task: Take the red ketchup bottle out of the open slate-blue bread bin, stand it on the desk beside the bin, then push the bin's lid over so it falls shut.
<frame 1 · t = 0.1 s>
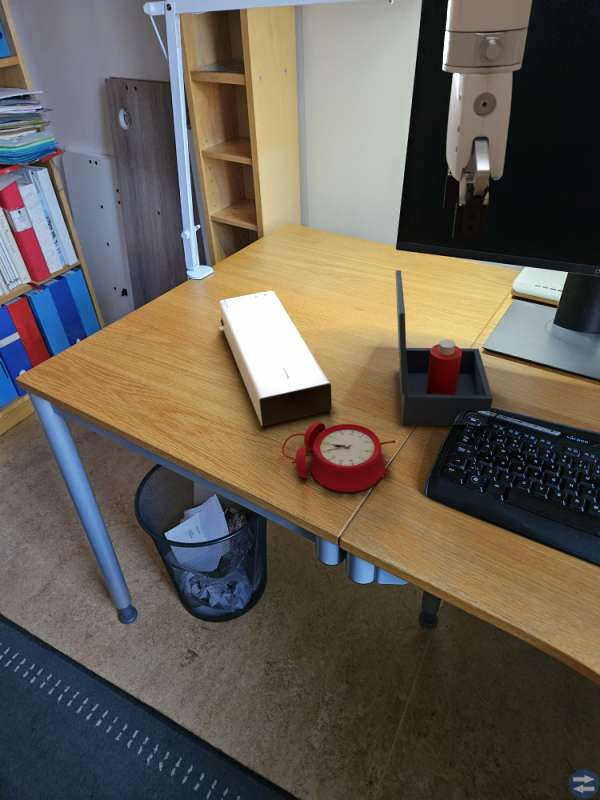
hand: (461, 224, 65), 31 cm above the table, tool pointing down, fingers open, 9 cm apart
bin lid: (401, 331, 83), point 12 cm above the table, hinge at 95.0°
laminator: (267, 367, 100), on the table
ketchup bottle: (440, 394, 89), point 1 cm above the table, touching bread bin
alarm clock: (335, 465, 79), on the table
bread bin: (440, 398, 90), on the table
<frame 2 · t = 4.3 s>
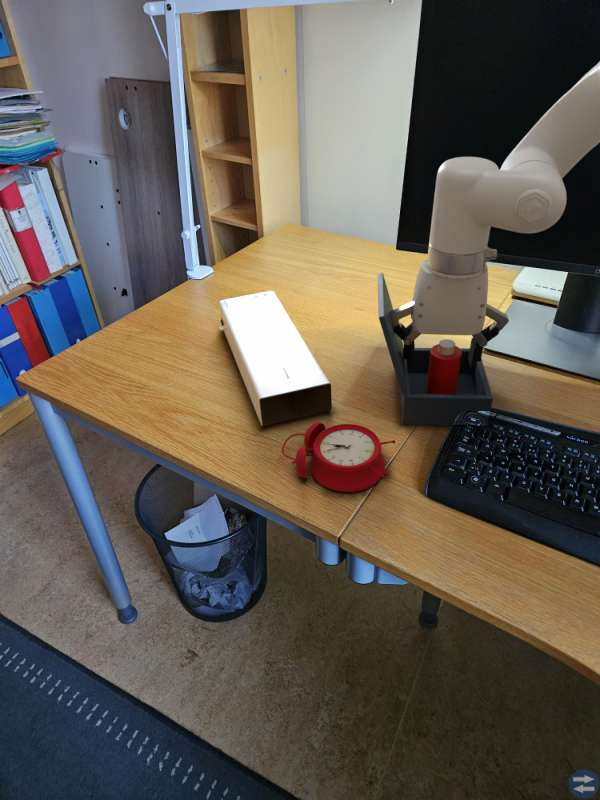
hand: (440, 363, 86), 7 cm above the table, tool pointing down, fingers open, 9 cm apart
bin lid: (392, 332, 83), point 12 cm above the table, hinge at 106.7°, touching gripper
everything else where it was.
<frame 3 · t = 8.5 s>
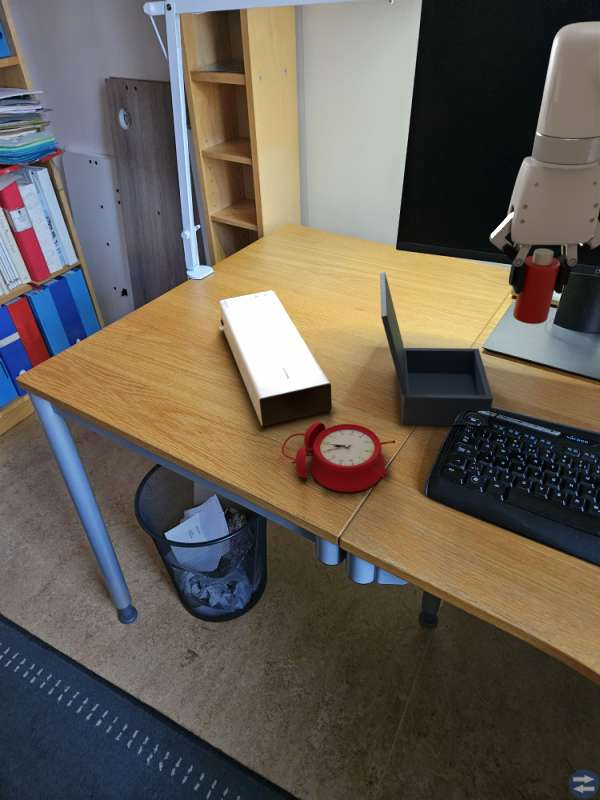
hand: (536, 288, 77), 19 cm above the table, tool pointing down, fingers closed on ketchup bottle, 4 cm apart
bin lid: (393, 332, 83), point 12 cm above the table, hinge at 105.1°
ketchup bottle: (530, 316, 79), point 15 cm above the table, touching gripper
everything else where it was.
when the fingers open (4 cm above the table, at t = 12.2 s): ketchup bottle stays where it is, on the table.
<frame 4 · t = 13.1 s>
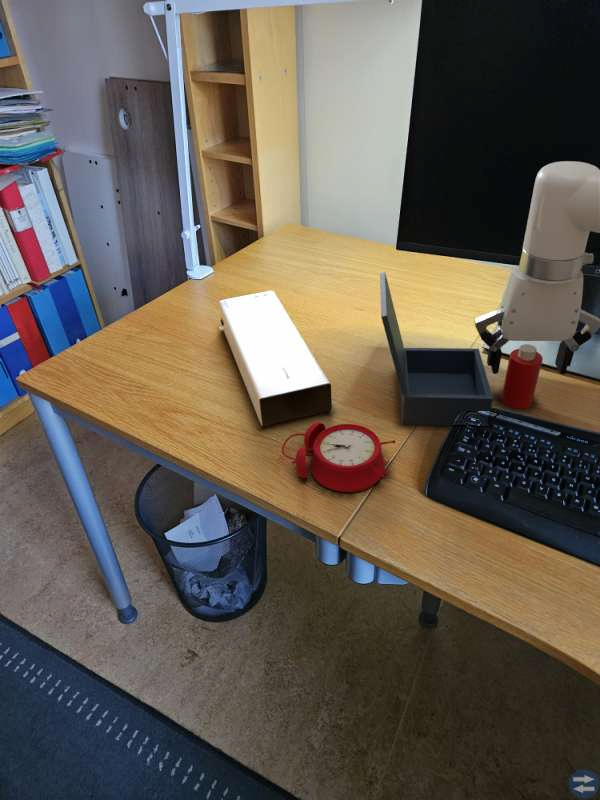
hand: (526, 369, 85), 6 cm above the table, tool pointing down, fingers open, 9 cm apart
ketchup bottle: (516, 399, 89), on the table
everything else where it was.
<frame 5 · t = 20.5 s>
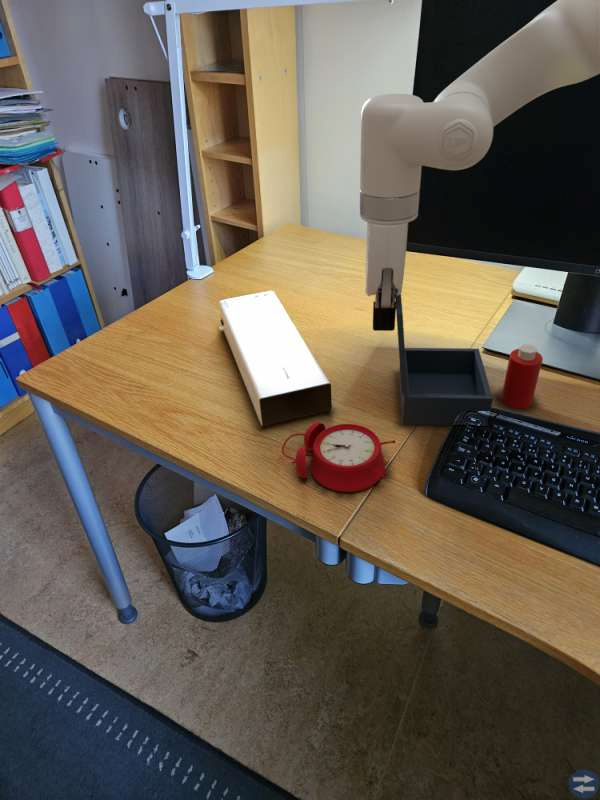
hand: (383, 327, 83), 13 cm above the table, tool pointing down, fingers closed
bin lid: (400, 331, 83), point 12 cm above the table, hinge at 96.3°, touching gripper
everything else where it was.
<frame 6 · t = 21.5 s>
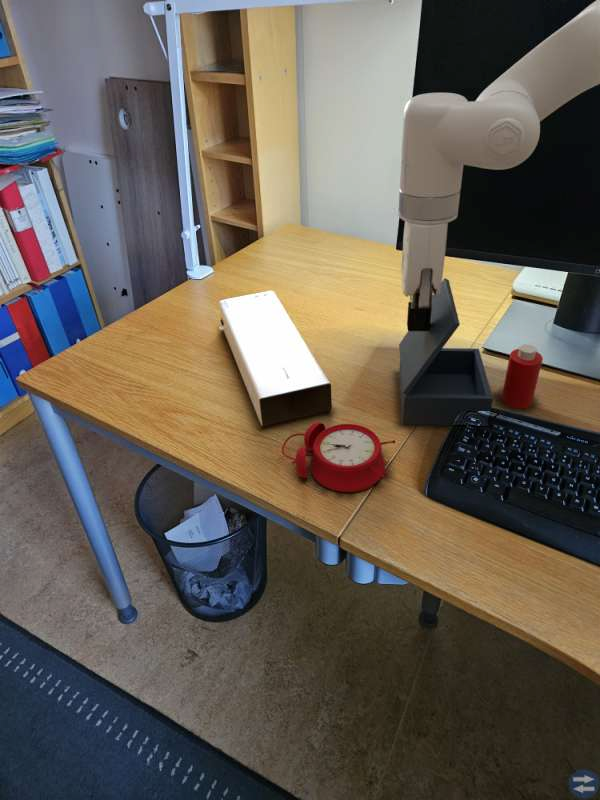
hand: (418, 328, 82), 13 cm above the table, tool pointing down, fingers closed
bin lid: (426, 335, 83), point 12 cm above the table, hinge at 62.5°
everything else where it was.
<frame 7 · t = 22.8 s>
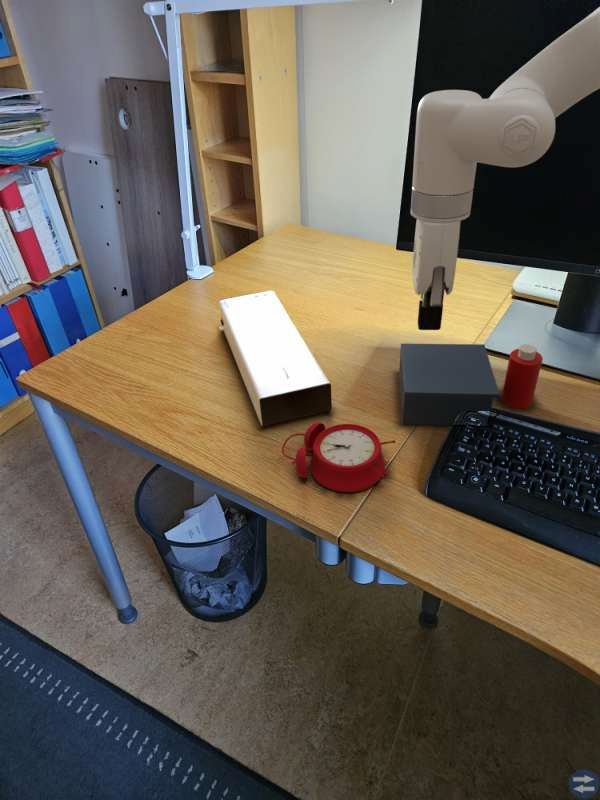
hand: (428, 327, 82), 13 cm above the table, tool pointing down, fingers closed
bin lid: (446, 369, 86), point 6 cm above the table, hinge at -0.2°
everything else where it was.
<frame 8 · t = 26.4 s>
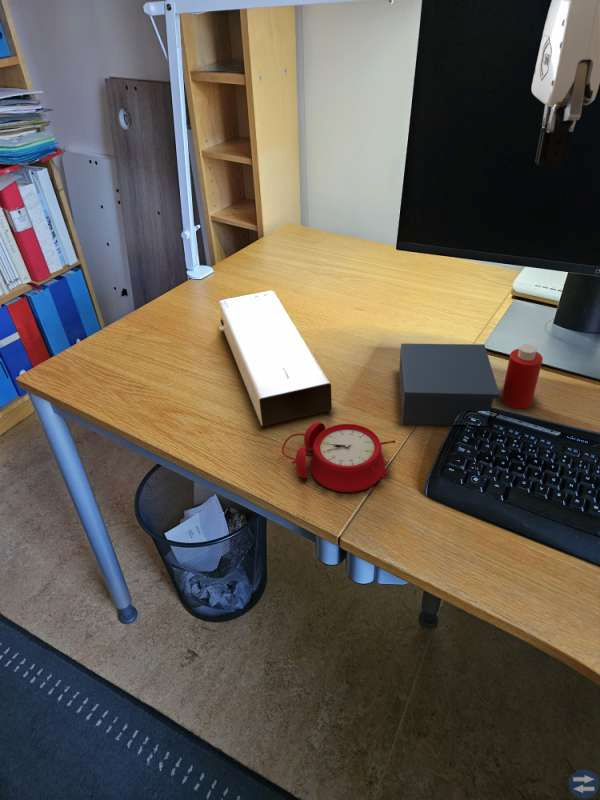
hand: (549, 164, 69), 35 cm above the table, tool pointing down, fingers closed
nothing on the table moved.
at the end: ketchup bottle inside the target area (0.2 cm from its centre), on the table; ketchup bottle tilted 0°; bin lid at +0° (first picture: +95°) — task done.
